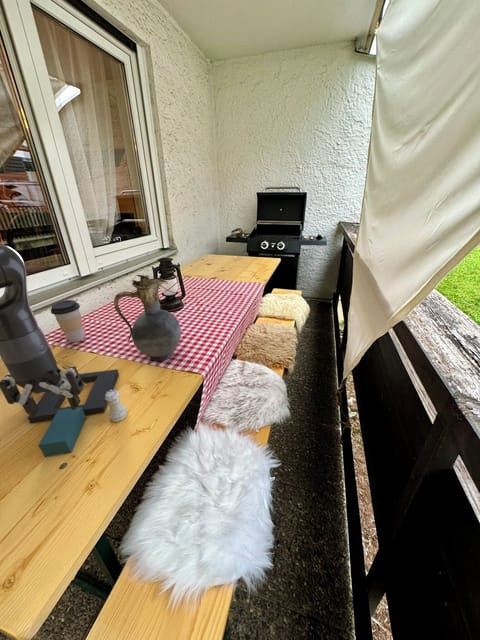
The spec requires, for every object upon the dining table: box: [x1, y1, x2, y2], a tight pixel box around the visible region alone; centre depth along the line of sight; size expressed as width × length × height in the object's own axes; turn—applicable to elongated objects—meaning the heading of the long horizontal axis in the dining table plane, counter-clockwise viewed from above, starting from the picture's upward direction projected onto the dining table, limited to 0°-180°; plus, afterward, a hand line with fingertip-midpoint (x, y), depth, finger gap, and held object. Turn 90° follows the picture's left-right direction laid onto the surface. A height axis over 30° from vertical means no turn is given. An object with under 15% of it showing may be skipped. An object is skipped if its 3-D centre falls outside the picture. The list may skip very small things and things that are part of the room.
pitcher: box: [113, 274, 182, 362], centre depth 84 cm, size 11×19×30 cm, turn 97°
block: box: [37, 407, 87, 458], centre depth 61 cm, size 6×10×4 cm, turn 10°
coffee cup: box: [50, 299, 86, 343], centre depth 99 cm, size 9×9×15 cm
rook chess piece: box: [105, 389, 128, 423], centre depth 66 cm, size 4×4×8 cm
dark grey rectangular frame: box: [27, 369, 120, 424], centre depth 74 cm, size 18×16×2 cm
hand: (55, 409), depth 58 cm, fingers open, 8 cm apart
